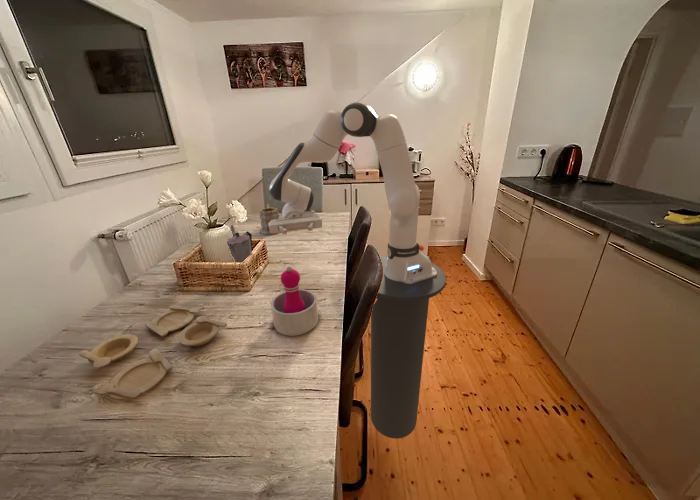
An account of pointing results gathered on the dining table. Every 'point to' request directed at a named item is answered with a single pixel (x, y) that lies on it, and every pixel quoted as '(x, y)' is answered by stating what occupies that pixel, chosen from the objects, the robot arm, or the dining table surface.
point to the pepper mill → (292, 291)
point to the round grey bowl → (295, 314)
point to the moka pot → (240, 246)
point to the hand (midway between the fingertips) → (297, 230)
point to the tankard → (267, 218)
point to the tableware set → (154, 368)
